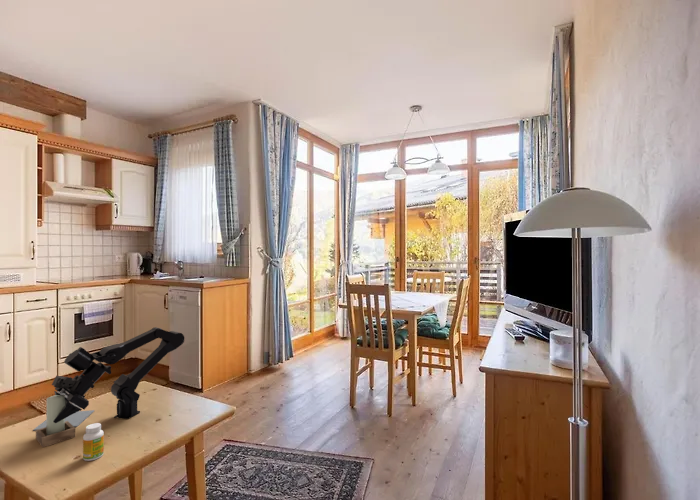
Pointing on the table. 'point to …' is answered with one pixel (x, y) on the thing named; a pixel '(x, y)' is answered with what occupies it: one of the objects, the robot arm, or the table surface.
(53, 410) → the green bottle
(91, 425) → the supplement bottle
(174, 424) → the table surface
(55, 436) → the brown square open box
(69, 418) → the mat
